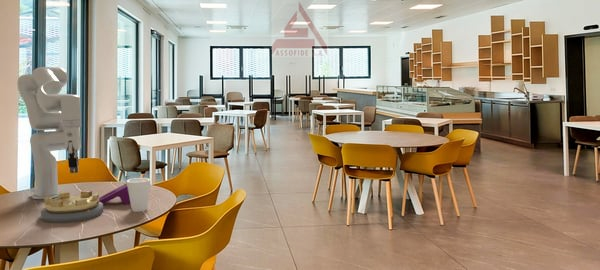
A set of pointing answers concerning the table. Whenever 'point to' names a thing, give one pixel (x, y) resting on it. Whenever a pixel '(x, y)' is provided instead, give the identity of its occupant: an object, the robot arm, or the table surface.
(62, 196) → the brass lugged disc
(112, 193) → the mounting bracket
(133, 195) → the foam cup
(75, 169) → the pin
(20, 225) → the table surface
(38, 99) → the robot arm
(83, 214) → the grey round plate
